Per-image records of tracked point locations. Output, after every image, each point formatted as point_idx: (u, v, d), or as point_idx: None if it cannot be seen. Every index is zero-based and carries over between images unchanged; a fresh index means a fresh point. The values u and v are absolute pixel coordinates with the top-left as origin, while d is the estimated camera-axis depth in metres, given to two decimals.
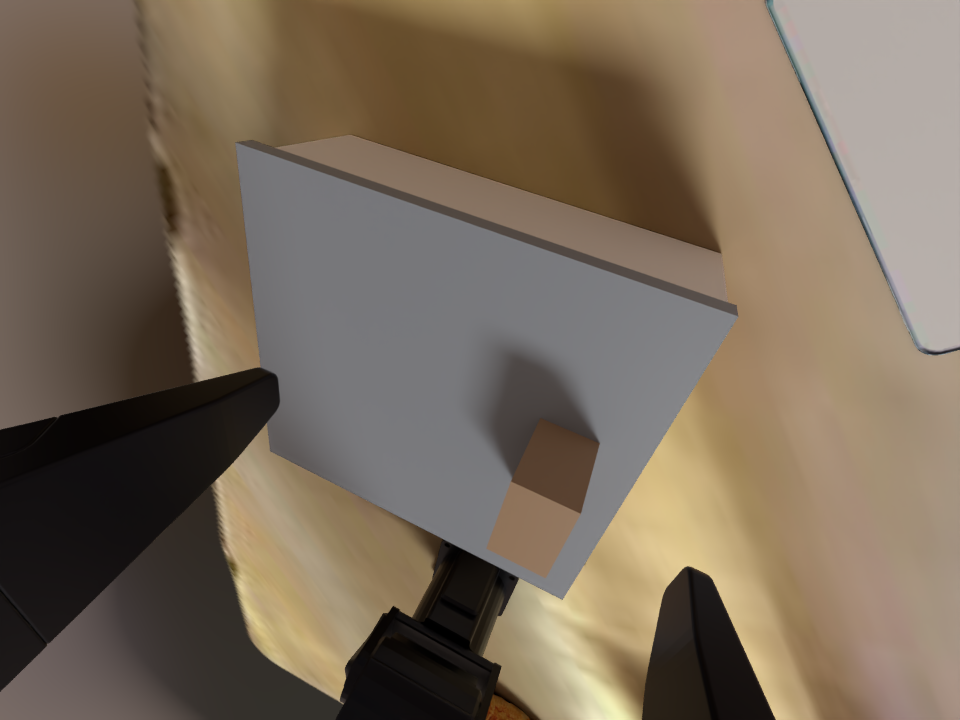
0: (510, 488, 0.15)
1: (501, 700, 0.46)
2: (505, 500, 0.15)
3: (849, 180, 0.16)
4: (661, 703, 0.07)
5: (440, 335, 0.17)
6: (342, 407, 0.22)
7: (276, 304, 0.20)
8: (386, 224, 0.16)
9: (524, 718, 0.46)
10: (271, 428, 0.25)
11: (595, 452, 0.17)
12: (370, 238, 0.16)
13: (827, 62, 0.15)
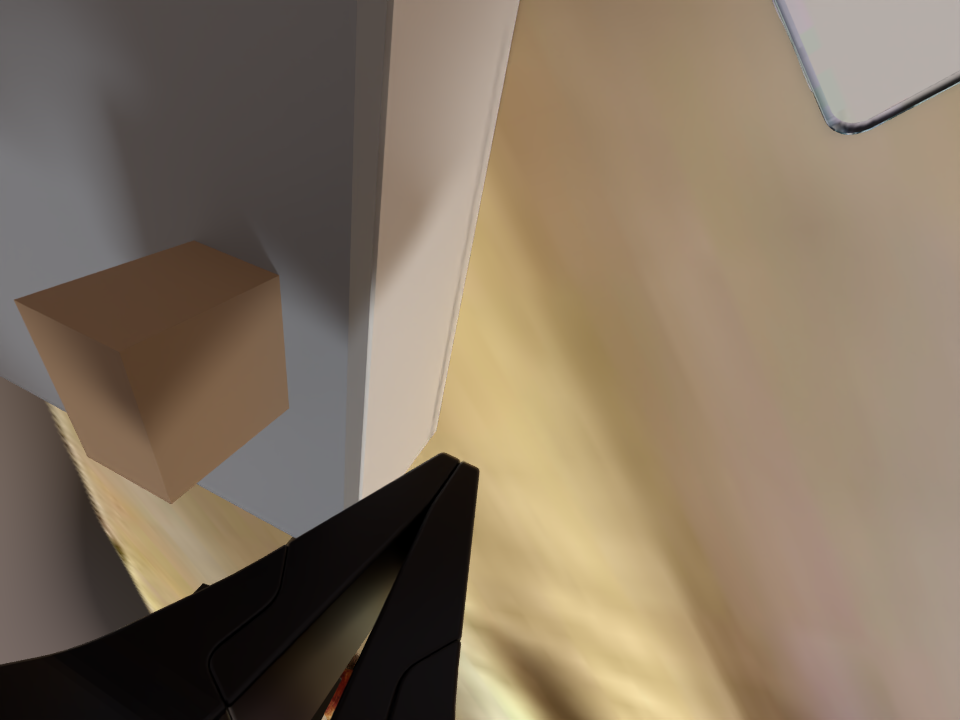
0: (23, 317, 0.08)
1: None
2: (37, 347, 0.08)
3: None
4: None
5: (19, 97, 0.10)
6: (2, 276, 0.15)
7: None
8: None
9: None
10: None
11: (256, 283, 0.10)
12: None
13: None
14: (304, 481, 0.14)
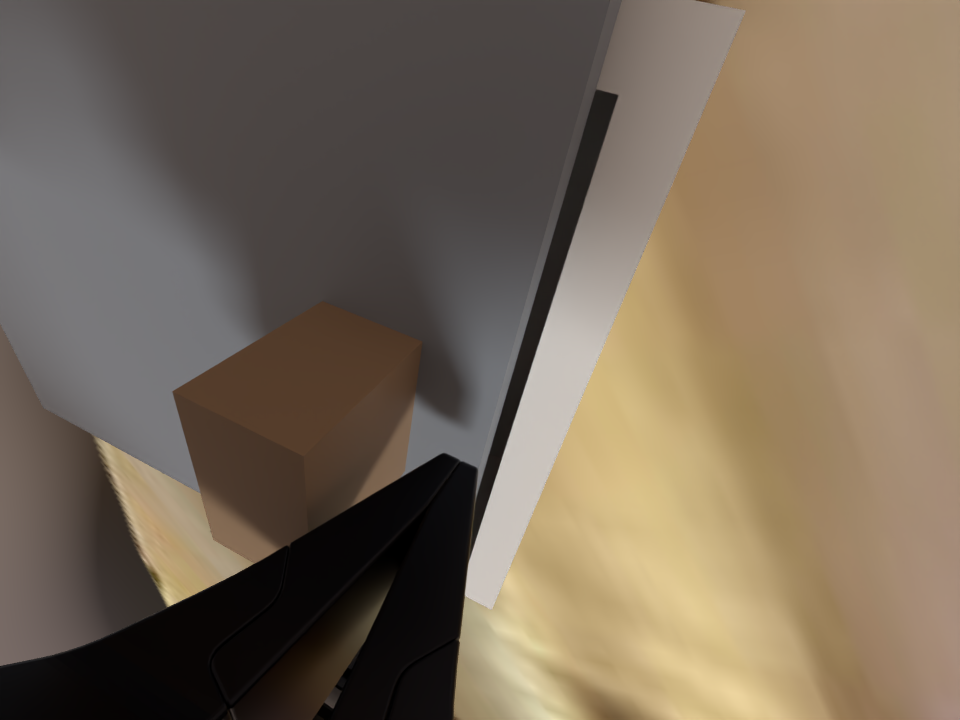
0: (179, 408, 0.07)
1: None
2: (186, 437, 0.07)
3: None
4: None
5: (134, 148, 0.10)
6: (80, 323, 0.14)
7: None
8: None
9: None
10: (28, 371, 0.17)
11: (405, 353, 0.09)
12: None
13: None
14: None
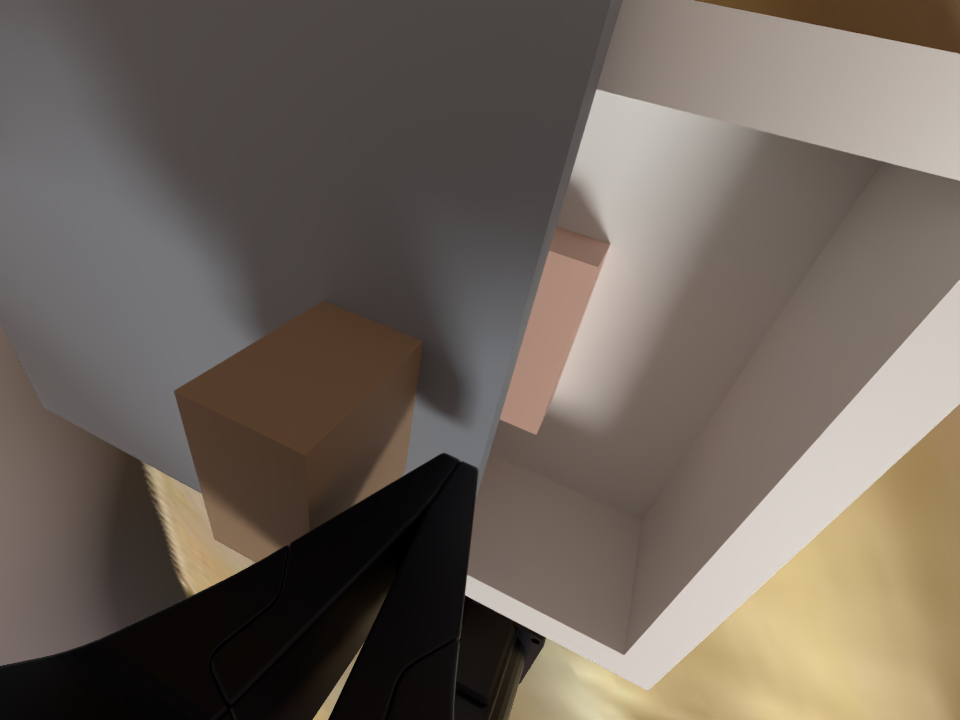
0: (181, 408, 0.07)
1: None
2: (188, 437, 0.07)
3: None
4: None
5: (135, 148, 0.10)
6: (81, 323, 0.14)
7: None
8: None
9: None
10: (28, 371, 0.17)
11: (405, 353, 0.09)
12: None
13: None
14: None
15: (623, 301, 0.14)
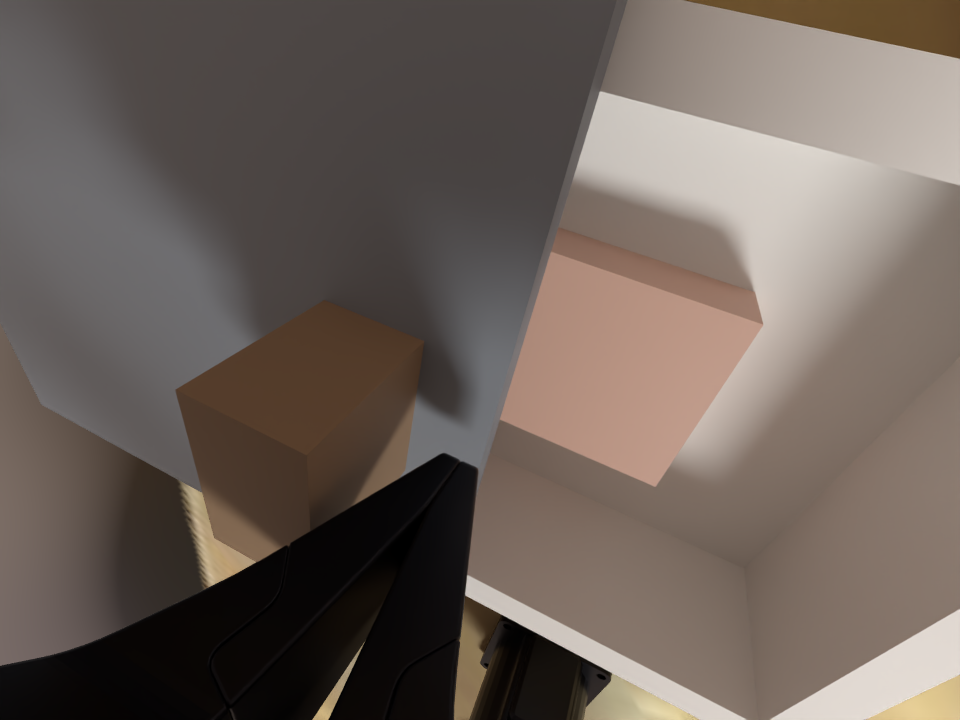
0: (182, 407, 0.07)
1: None
2: (189, 436, 0.07)
3: None
4: None
5: (136, 146, 0.10)
6: (80, 320, 0.14)
7: None
8: None
9: None
10: (26, 368, 0.17)
11: (407, 353, 0.09)
12: None
13: None
14: None
15: (760, 351, 0.13)
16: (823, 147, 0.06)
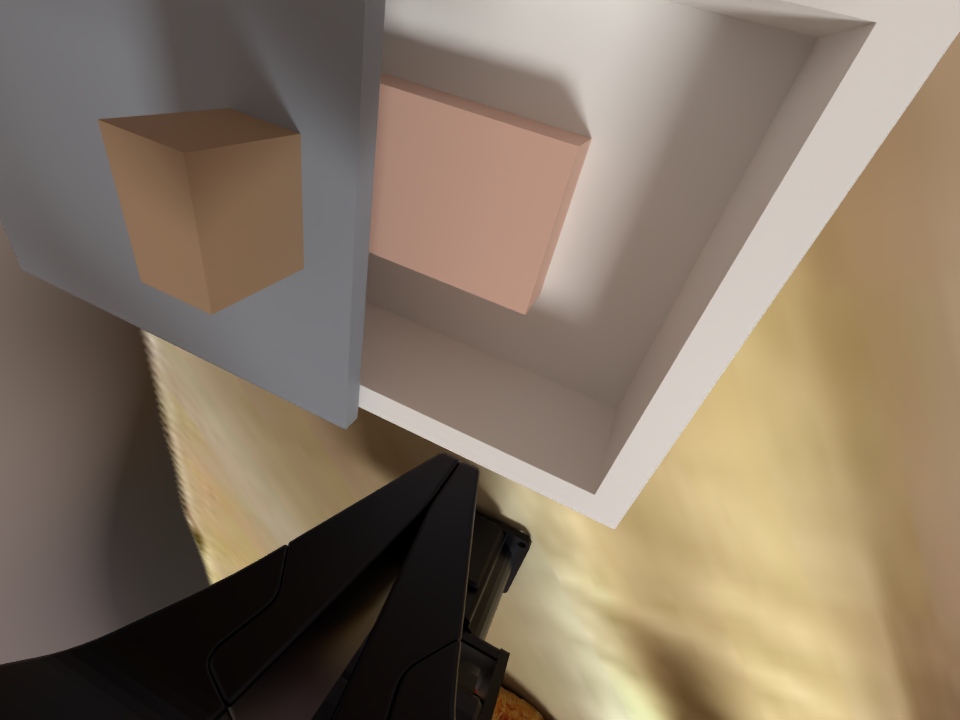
0: (103, 136, 0.10)
1: (513, 696, 0.39)
2: (111, 166, 0.10)
3: None
4: None
5: None
6: (50, 167, 0.17)
7: None
8: None
9: (538, 718, 0.39)
10: (8, 230, 0.20)
11: (283, 135, 0.12)
12: None
13: None
14: (314, 345, 0.16)
15: (602, 193, 0.16)
16: None
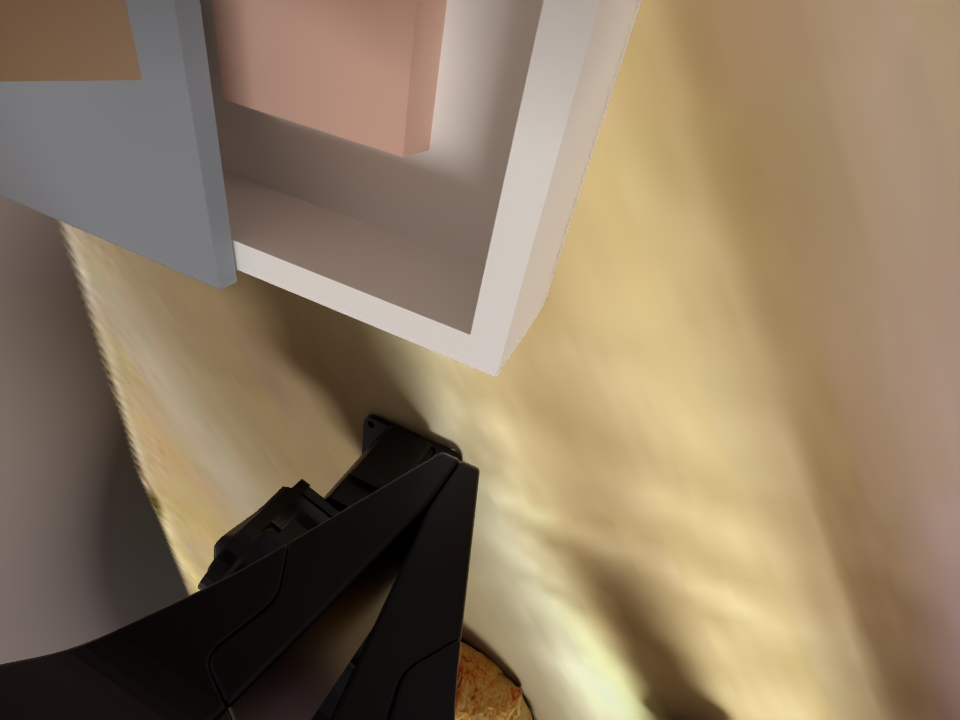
0: None
1: (470, 648, 0.37)
2: None
3: None
4: None
5: None
6: None
7: None
8: None
9: (496, 671, 0.38)
10: None
11: None
12: None
13: None
14: (171, 182, 0.15)
15: (472, 13, 0.15)
16: None
